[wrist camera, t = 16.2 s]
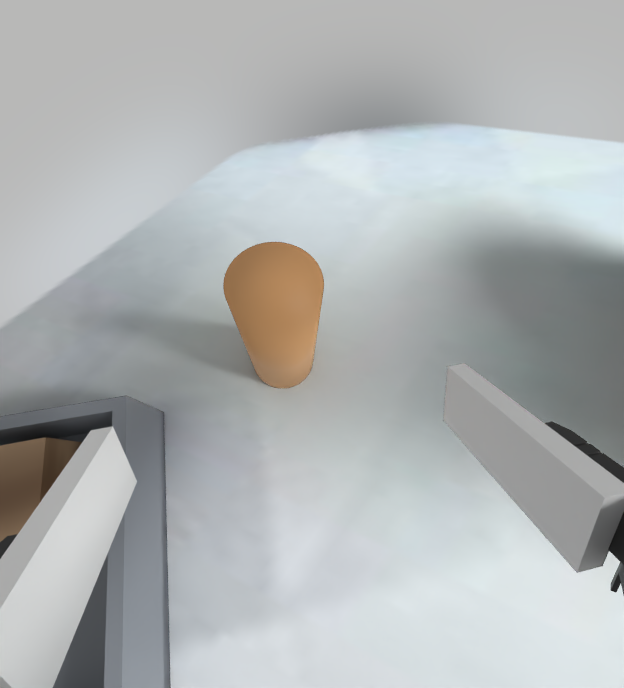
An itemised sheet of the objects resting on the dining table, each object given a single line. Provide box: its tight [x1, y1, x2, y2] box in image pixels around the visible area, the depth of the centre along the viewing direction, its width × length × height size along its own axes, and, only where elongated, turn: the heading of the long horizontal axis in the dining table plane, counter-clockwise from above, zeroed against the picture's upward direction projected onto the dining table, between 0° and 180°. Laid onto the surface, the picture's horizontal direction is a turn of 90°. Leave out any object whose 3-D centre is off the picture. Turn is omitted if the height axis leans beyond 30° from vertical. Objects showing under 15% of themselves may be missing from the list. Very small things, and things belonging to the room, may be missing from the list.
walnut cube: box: [0, 437, 82, 542], centre depth 20 cm, size 5×5×5 cm
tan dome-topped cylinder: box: [224, 242, 324, 388], centre depth 22 cm, size 5×5×12 cm
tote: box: [0, 396, 170, 688], centre depth 19 cm, size 18×14×6 cm
